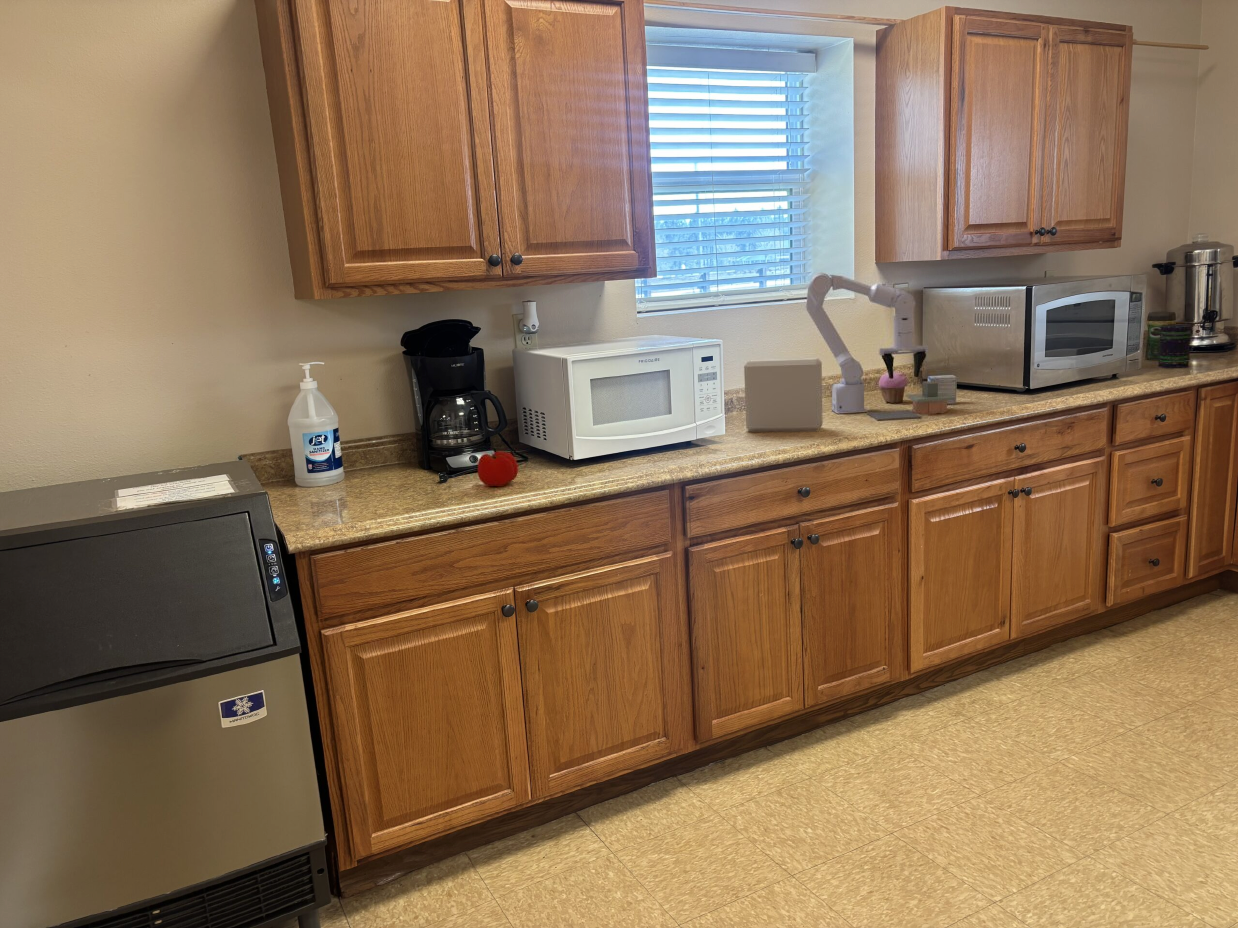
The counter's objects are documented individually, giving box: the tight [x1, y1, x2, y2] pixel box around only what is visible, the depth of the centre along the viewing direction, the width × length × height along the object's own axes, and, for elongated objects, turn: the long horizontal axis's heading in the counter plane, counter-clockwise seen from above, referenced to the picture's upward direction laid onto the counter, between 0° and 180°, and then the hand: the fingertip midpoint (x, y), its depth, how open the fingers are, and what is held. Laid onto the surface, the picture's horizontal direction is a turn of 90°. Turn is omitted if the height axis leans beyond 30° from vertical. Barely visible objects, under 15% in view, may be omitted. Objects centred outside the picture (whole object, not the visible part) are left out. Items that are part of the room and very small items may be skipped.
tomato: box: [477, 450, 519, 487], centre depth 211 cm, size 9×9×8 cm
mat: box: [866, 409, 922, 422], centre depth 266 cm, size 12×12×1 cm
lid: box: [905, 380, 955, 402], centre depth 269 cm, size 11×11×5 cm
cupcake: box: [878, 371, 909, 404], centre depth 290 cm, size 9×9×10 cm
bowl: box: [912, 400, 948, 415], centre depth 270 cm, size 9×9×4 cm
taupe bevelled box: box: [743, 357, 824, 433], centre depth 254 cm, size 21×8×20 cm, turn 73°
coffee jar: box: [1144, 310, 1177, 361], centre depth 349 cm, size 10×8×19 cm
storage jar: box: [1157, 324, 1192, 369], centre depth 327 cm, size 10×10×15 cm
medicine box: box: [927, 374, 958, 405], centre depth 282 cm, size 8×4×9 cm, turn 84°
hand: (903, 377), depth 274 cm, fingers open, 7 cm apart
